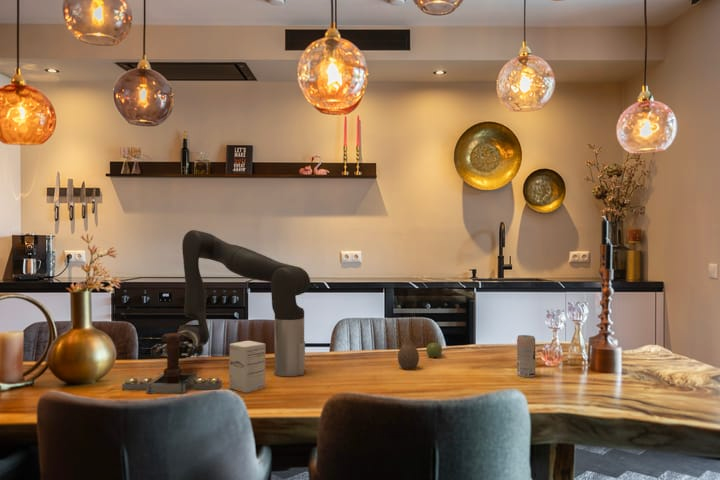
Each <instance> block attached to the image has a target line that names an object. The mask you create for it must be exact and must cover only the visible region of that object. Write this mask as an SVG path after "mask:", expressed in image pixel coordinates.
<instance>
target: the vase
mask: <svg viewBox="0 0 720 480" xmlns="http://www.w3.org/2000/svg"><path fill="white" fill-rule="evenodd" d="M419 361H420V355H419V351H418V349H417V347H416V346H415V345H414V343H413V341H412V340H404V342H403V343H402V345H401V347H400V348H399V350H398V353H397V362H398V364H399V366H400V367H401V369H402V370H407V369H410V370H415V368H417V366H418V365H419Z"/></svg>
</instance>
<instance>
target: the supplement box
mask: <svg viewBox="0 0 720 480" xmlns="http://www.w3.org/2000/svg"><path fill="white" fill-rule="evenodd" d="M228 359H229V362H228V363H229V367H228V370H229V372H228V374H229V375H228V376H229V377H228V378H229V379H228V380H229V382H228V383H229V384H228V387H229V389H230V390H231V389H232V390H236V391H239V392H242V393H244V394H247V393H250V392H251V393H252V392H255V391H258V390H262V389H265V388H266V343H264V342H259V341H254V340H244V341H237V342H233V343H229V358H228Z"/></svg>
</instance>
